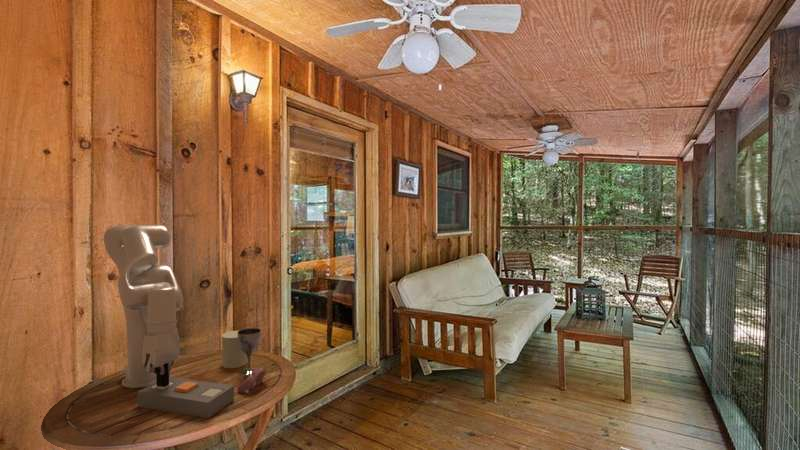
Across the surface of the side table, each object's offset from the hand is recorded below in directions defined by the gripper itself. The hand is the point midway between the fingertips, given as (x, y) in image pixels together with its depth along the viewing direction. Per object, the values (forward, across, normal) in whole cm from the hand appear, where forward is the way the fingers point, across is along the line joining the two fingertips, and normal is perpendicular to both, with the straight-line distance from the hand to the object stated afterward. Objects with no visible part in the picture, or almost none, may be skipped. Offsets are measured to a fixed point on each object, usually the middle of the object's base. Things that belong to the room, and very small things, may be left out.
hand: (162, 385), depth 119 cm
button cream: (+3, 0, 0) cm, 3 cm away
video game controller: (+5, -15, +21) cm, 27 cm away
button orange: (+2, 0, +9) cm, 9 cm away
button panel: (+5, 0, +9) cm, 10 cm away
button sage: (+3, 0, +18) cm, 18 cm away
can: (+5, -30, +3) cm, 31 cm away
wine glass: (+5, -25, +13) cm, 29 cm away
